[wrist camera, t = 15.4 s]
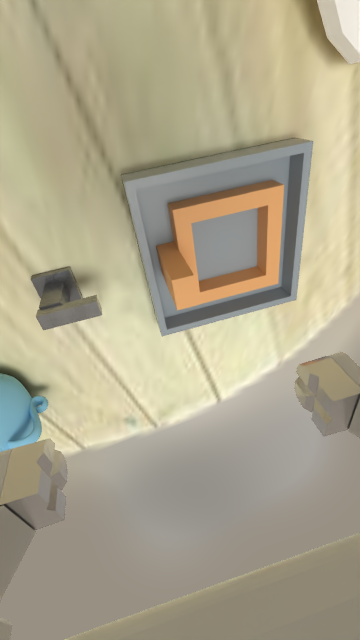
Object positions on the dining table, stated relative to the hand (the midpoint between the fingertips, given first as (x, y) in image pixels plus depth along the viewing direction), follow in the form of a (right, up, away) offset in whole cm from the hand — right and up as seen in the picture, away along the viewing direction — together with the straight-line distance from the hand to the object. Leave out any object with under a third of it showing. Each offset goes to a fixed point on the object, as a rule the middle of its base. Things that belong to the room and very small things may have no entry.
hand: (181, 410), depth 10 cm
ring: (+5, +13, +32) cm, 36 cm away
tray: (+5, +14, +33) cm, 37 cm away
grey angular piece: (-15, +8, +32) cm, 36 cm away
